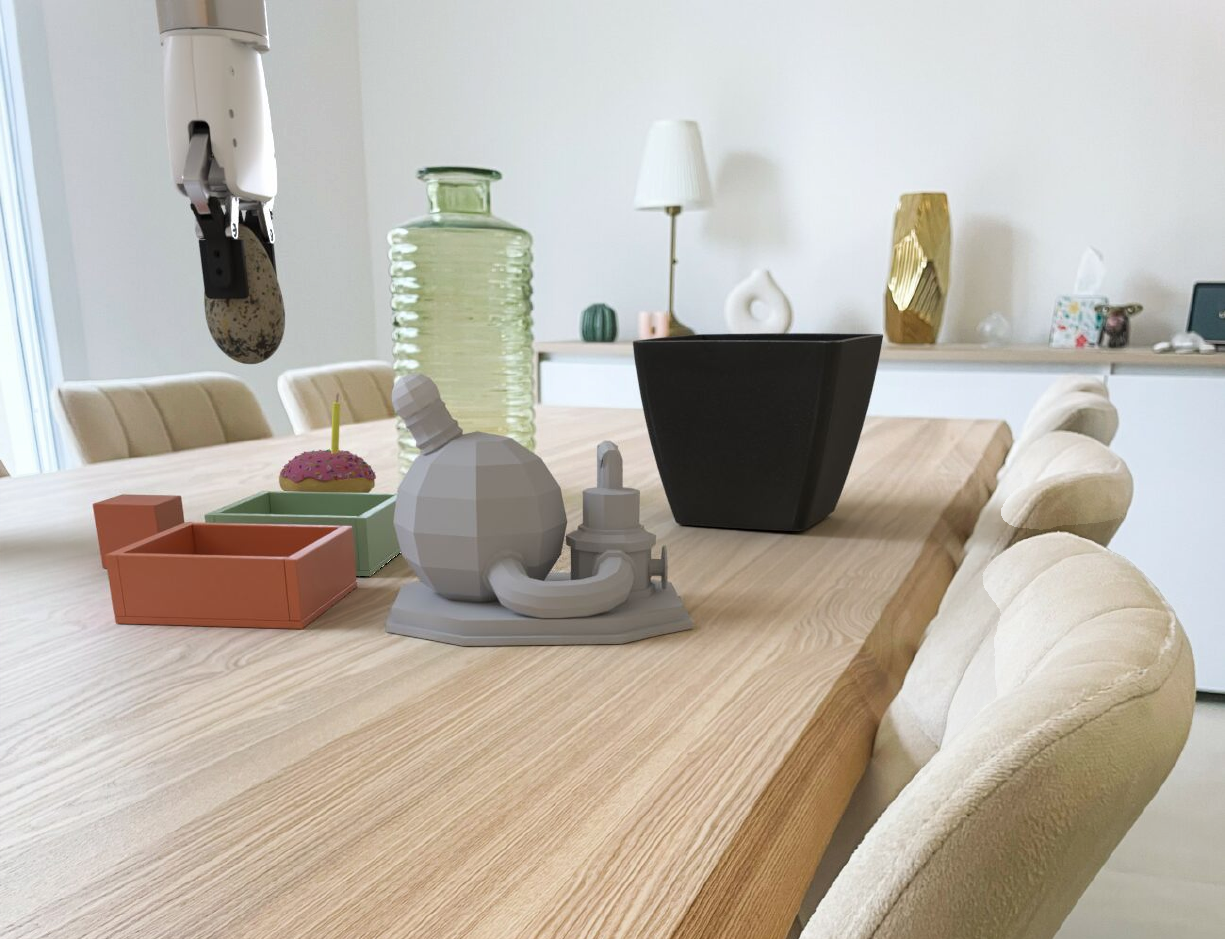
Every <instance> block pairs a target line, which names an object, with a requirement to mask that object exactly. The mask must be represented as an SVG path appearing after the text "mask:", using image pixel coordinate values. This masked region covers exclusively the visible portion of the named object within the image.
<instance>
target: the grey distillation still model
mask: <svg viewBox="0 0 1225 939" xmlns="http://www.w3.org/2000/svg"><path fill="white" fill-rule="evenodd" d="M391 404H392V406H393V409H394V412H395V413H396V414H397V415H398V416H399V417H400V419H402V420H403V422H404V425H405V428H406V429H408V431H409V432H410V434H411V436H412V437H413V438H414V440H415V447H416V448H417V449H419V450H420V454H419V455H418V456H417V457H415V458H414V459H413V461H412V463H411V465H410V467H409V468H408V470H407V471H406V473H405V475H404V477H403V478H402V480H401V482H400V483H399V485H398V487H397V491H396V492H397V498H396V506H395V513H394V521H393V523H394V527H395V530H396V534H397V538H398V542H399V546H400V550H401V556H402V557H403V559H404V560H405V562H406V563H407V564H408V566H409V567H410V568H411V570H412V572H414V574H415V575H416V577H417V579H419V581H412V582H405V583H402V585H401V586H400V589H399V591H398V593H397V596H396V598H395V600H394V602H393V604H392V606H391V608H390V609H389V611H388V614H387V618H386V621H385V632H386V633H390V634H396V635H402V636H407V637H414V638H419V639H425V640H429V641H435V642H441V643H446V644H450V645H456V646H461V647H462V646H463V647H480V646H481V647H482V646H483V647H487V646H561V645H562V646H563V645H567V646H569V645H623V644H627V643H630V642H631V643H632V642H635V641H640V640H644V639H649V638H652V637H657V636H661V635H667V634H672V633H677V632H682V631H687V630H692V629H693V628H694V627H693V626H694V621H693V618H691V616H690V614H689V613H688V611H687V609H686V608H685V604H684V601H683V599H682V597H681V595H678V593H677V591H676V589H675V587H674V584H673V583H672V582H671V581H668V573H669V572H668V568H669V567H668V565H669V562H668V561H669V560H668V549H667V545H666V544H664V545H662V546H661V553H660V554H661V555H660V558H652V548H653V547H654V546H656V544H657V534H655V533H653V532H650V531H648V530H646V529H645V525H643V524H642V523H640V514H641V513H640V502H641V490H639V489H637V488H634V487H626V486H624V485H623V482H624V481H623V480H624V478H623V477H624V476H623V475H624V467H623V463H624V462H623V457H622V454H621V451H620V449H619V446H618V445H617V444H616V443H614V442H613V441H612V440H603V441H601V443H599V444H598V445H597V446H596V486H595V487H588V488H587V487H586V488H585V489H583V490H582V523H580V524H578V525H577V529H576V530H573V531H571V532H569V533H567V534H566V532H567V531H566V530H567V526H568V517H567V514H566V508H565V504H564V499H563V493H562V488H561V486H560V485H559V483H558V482H557V479H555V477H554V475H553V474H552V473H551V471H550V469H549V467H547V465H546V463H545V462H544V461H543V459H542V457H540V456H538V455H537V454H536V453H534V452H533V451H532V450H530V449H529V448H527V447H525V446H524V445H523V444H522V443H520V442H518V441H517V440H515V439H514V438H512V437H508V436H505V435H501V434H496V433H489V432H484V431H478V430H477V431H472V432H467V433H463V432H464V429H463V428H462V427H460V426H459V422H458V420H457V419H455V418H453V417H452V415H451V413H450V412H449V410H448V408H447V407H446V403H445V402H444V401H443V400H442V398H441V393H440V391H439V388H438V386H437V384H436V383H435V382H434V381H433V379H432V378H431V377H429V376H427V375H425V374H422V373H419V372H410V373H407V374H404V375H402V376H401V377H400V378H399V379H398V380H397V381H396V382H395V383H394V386H393V388H392V390H391ZM623 486H624V487H623ZM564 541H565V545H566V546H567V547H569V548H570V571H569V572H568V571H567V572H563V571H561V572H559V571H558V572H551V571H552V569H553V568H554V567H555V564H556V563H557V562H558V560H559V558H560V557H561V555H562V552H563V547H564ZM652 577H660V580H658V579H652Z"/></svg>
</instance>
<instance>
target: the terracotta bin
mask: <svg viewBox="0 0 1225 939" xmlns="http://www.w3.org/2000/svg"><path fill="white" fill-rule="evenodd" d="M184 522H185V523H182V524H180V525H178V526H175V527H173V528H170V529H168V530H165V531H163V532H160V533H158V534H155V535H153V536H150V537H148V538H146V539H143V540H141V541H138V542H136V543H133V544H131V545H128V546H126V547H123V548H121V549H119V550H116V551H114V552H111V553H109V554H106V555H105V558H106V565H107V568H106V569H107V578H108V583H109V590H110V598H111V603H112V610H113V615H114V621H115V622H114V623H115V624H120V625H121V624H122V625H123V624H124V625H153V626H156V625H158V626H186V627H187V626H188V627H190V626H192V627H223V628H224V627H226V628H254V629H255V628H259V629H261V628H263V629H288V630H289V629H290V630H291V629H292V630H294V629H295V630H303V629H304V628H305V627H307V626H309V624H310V623H312V622H313V621H315V620H316V619H317V618H318V617H320V616H321V615H322V614H324V613H325V612H326V611H328V610H329V609H330V608H331V607H333V606H334V605H336V604H337V603H339V601H341V600H342V599H343V598H345V597H346V596H348V594H349V592H350V593H351V592H353V591H354V590H355V589H357V588H358V581H357V577H356V566H355V553H354V540H353V527H352V526H335V525H290V524H245V523H205V522H198V521H197V522H195V521H184ZM354 588H355V589H354ZM353 589H354V590H353ZM344 596H345V597H344ZM332 605H333V606H332Z"/></svg>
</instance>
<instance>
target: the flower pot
mask: <svg viewBox="0 0 1225 939" xmlns="http://www.w3.org/2000/svg"><path fill="white" fill-rule="evenodd" d="M883 339H884V334H883V333H831V332H830V333H829V332H828V333H827V332H825V333H823V332H817V333H814V332H812V333H809V332H808V333H806V332H804V333H803V332H801V333H800V332H797V333H796V332H795V333H794V332H793V333H792V332H791V333H789V332H778V333H777V332H773V333H770V332H768V333H767V332H764V333H761V332H759V333H704V334H703V333H697V334H685V335H683V334H682V335H673V336H663V337H654V338H646V339H637V340H633V341H632V348H633V349H632V350H633V357H634V358H633V359H634V365H635V370H636V376H637V377H636V378H637V383H638V389H639V390H638V391H639V394H640V395H639V396H640V400H641V405H642V406H641V407H642V410H643V414H644V420H645V423H646V429H647V433H648V438H649V441H650V445H651V449H652V452H653V457H654V460H655V465H656V468H657V471H658V475H659V478H660V480H661V484H662V487H663V489H664V490H663V491H664V494H665V496H666V499H667V502H668V505H669V509H670V510H671V514H672V517H673V519H674V521H675V523H676V524H678V525H685V526H700V527H716V528H728V529H729V528H730V529H731V528H732V529H744V530H745V529H748V530H766V531H787V532H803V531H805V530H807V529H809V528H810V527H812V526H813V525H815V524H817V523H818V522H820V521H821V520H823V519H825V518H827V516H829V515H831V514H832V513H834V511H835V510H836V508H837V505H838V503H839V500H840V498H841V495H842V493H843V490H844V487H845V484H846V481H847V479H848V476H849V474H850V469H851V467H852V464H853V461H854V458H855V454H856V452H857V448H858V445H859V442H860V438H861V435H862V432H863V429H864V425H865V420H866V417H867V413H868V410H869V406H870V403H871V398H872V394H873V390H874V385H875V380H876V375H877V371H878V367H879V360H880V356H881V352H882V346H883V345H882V344H883Z"/></svg>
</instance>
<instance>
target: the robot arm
mask: <svg viewBox="0 0 1225 939" xmlns="http://www.w3.org/2000/svg"><path fill="white" fill-rule="evenodd" d="M154 1H155V7H156V8H155V9H156V15H157V16H156V17H157V24H158V33H159V42H160V47H162V85H163V86H162V87H163V89H162V90H163V103H164V104H163V106H164V117H165V118H164V119H165V131H166V141H167V152H168V162H169V172H170V179H171V185H172V186H173V188H174V189H175V190H176V192H177V193H178V194H179V195H181V196H183V197H184V198H189V200H190V203H189V206H190V209H191V211H192V213H193V215H194V231H195V235H196V238H197V239H198V248H199V255H200V256H199V257H200V264H201V272H202V280H203V290H205V295H206V297H207V298H209V299H246V298H248V296H249V287H248V278H247V269H246V260H245V251H244V241H243V240H241V239H237V236H238V224H242V225H244V226H246V227H247V228H249V229H250V230H251V231H252V232H253V233H254V234H255V236H256V237H257V238H258V240H259V241H260V243H261V244H262V246H263V247H264V249H265V251H266V253H267V255H268V257H269V259H270V261H271V264H272V266H273V269H274V271H275V274H276V277H277V278H278V273H277V272H278V271H277V262H276V252H275V251H276V250H275V243H274V242H275V233H274V228H273V223H272V222H273V219H274V217H273V215H274V214H273V211H272V210H273V206H274V201H275V196H277V193H278V178H277V177H278V175H277V161H276V153H275V144H274V135H273V127H272V121H271V112H270V105H269V99H268V93H267V85H266V81H265V74H264V69H263V68H264V67H263V63H262V57H261V55H264V54H266V53H268V52H269V51H270V48H271V47H270V39H269V30H268V19H267V9H266V0H154ZM223 206H224V210H223ZM243 211H245V215H244V216H243Z"/></svg>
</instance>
